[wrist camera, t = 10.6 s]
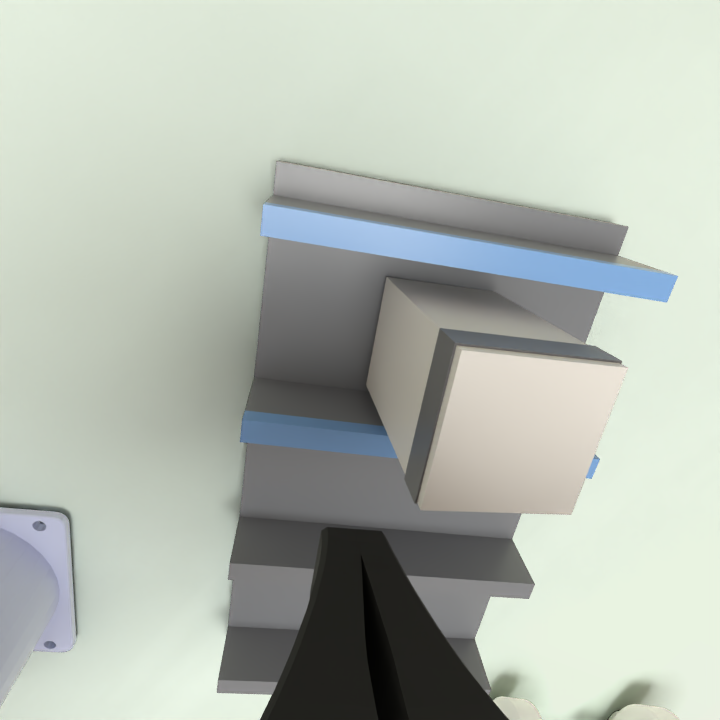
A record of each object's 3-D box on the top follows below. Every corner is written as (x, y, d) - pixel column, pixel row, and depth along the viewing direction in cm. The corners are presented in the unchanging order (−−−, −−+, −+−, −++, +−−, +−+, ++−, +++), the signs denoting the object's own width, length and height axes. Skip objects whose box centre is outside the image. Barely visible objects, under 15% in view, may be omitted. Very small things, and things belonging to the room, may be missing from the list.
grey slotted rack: (228, 634, 24) (212, 723, 20) (278, 160, 16) (267, 163, 12) (459, 645, 26) (484, 729, 22) (612, 223, 18) (692, 241, 14)
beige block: (364, 386, 18) (417, 512, 11) (385, 275, 16) (460, 347, 10) (468, 395, 19) (572, 516, 12) (496, 290, 17) (630, 366, 11)
